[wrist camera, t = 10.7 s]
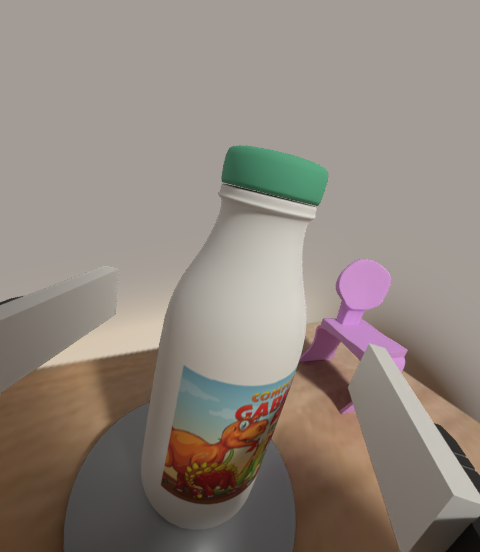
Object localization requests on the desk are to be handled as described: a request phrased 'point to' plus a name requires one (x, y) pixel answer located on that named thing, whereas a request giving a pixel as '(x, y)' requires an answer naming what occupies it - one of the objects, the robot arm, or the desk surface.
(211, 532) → the pad
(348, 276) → the toy chair
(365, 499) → the desk surface
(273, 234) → the milk bottle
